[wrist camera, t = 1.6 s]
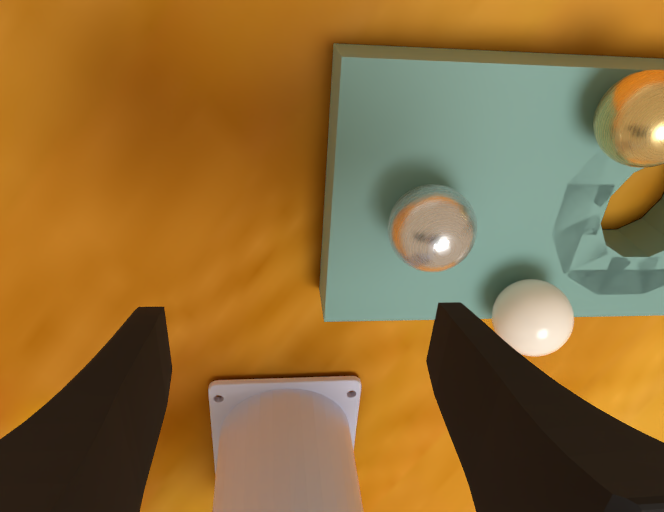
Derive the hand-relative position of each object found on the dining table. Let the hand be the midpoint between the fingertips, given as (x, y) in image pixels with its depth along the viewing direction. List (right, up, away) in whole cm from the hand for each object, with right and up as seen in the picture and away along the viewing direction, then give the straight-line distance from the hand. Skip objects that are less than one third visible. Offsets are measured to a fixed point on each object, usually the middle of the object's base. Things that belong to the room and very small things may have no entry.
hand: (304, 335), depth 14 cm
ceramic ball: (+9, -1, +8) cm, 12 cm away
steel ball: (+4, +3, +6) cm, 8 cm away
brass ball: (+11, +7, +4) cm, 14 cm away
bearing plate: (+10, +5, +10) cm, 15 cm away
